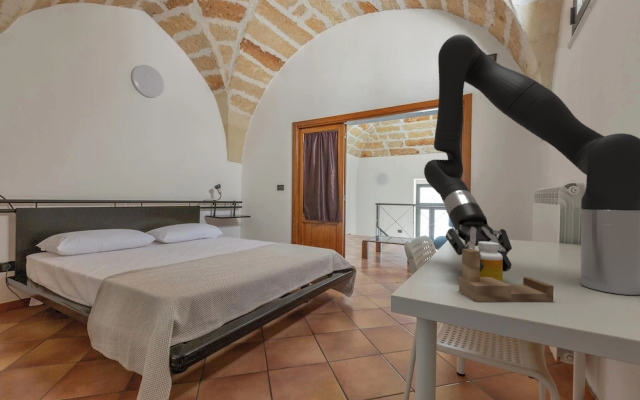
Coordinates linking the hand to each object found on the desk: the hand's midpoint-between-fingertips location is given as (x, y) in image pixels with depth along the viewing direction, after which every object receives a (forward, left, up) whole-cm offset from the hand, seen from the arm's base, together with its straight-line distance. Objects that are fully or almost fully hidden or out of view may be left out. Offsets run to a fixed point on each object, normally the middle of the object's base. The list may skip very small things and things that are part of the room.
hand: (493, 269), depth 60 cm
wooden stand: (+1, +5, -4) cm, 6 cm away
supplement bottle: (0, -2, -5) cm, 5 cm away
